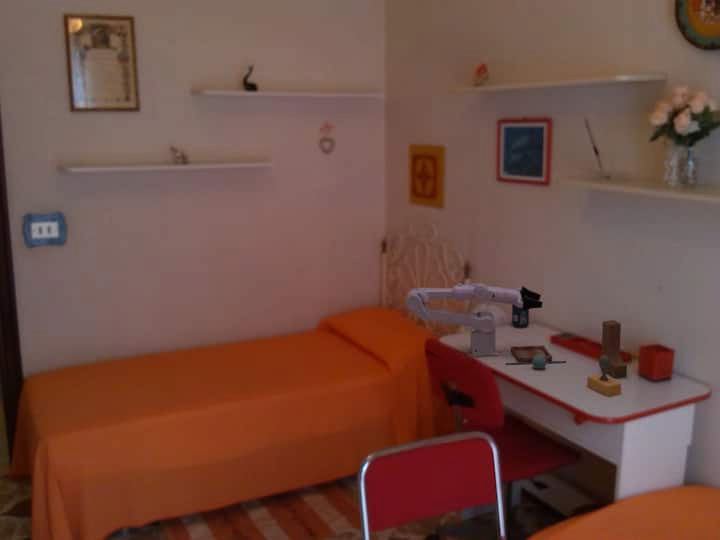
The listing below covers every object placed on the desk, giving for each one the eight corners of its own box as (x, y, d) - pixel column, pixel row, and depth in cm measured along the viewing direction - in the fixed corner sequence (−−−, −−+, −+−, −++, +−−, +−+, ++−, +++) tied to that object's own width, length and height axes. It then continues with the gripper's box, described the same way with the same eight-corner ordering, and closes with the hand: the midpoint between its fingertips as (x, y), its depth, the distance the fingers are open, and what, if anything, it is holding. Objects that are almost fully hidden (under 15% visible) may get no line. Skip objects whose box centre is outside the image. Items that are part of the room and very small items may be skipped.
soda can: (518, 322, 307) (519, 296, 304) (532, 326, 302) (532, 298, 299) (508, 326, 303) (508, 299, 300) (521, 329, 297) (522, 302, 295)
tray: (517, 362, 260) (517, 357, 259) (510, 351, 272) (510, 346, 271) (551, 361, 259) (552, 356, 259) (543, 349, 272) (543, 345, 271)
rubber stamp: (586, 386, 235) (587, 352, 233) (600, 383, 237) (601, 349, 235) (607, 397, 226) (608, 361, 224) (621, 393, 228) (622, 358, 226)
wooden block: (626, 377, 241) (629, 326, 237) (615, 378, 240) (617, 328, 236) (612, 368, 250) (613, 319, 246) (600, 369, 249) (602, 320, 245)
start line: (506, 365, 257) (506, 364, 257) (505, 363, 259) (505, 363, 258) (566, 362, 257) (566, 362, 257) (565, 361, 258) (565, 360, 258)
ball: (533, 371, 250) (533, 357, 249) (530, 366, 255) (530, 352, 254) (547, 370, 250) (548, 357, 249) (544, 365, 255) (544, 352, 254)
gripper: (507, 292, 257) (545, 298, 256) (505, 279, 271) (541, 284, 269) (504, 310, 260) (541, 316, 258) (502, 296, 273) (537, 301, 272)
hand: (541, 301), depth 264 cm, fingers open, 7 cm apart
